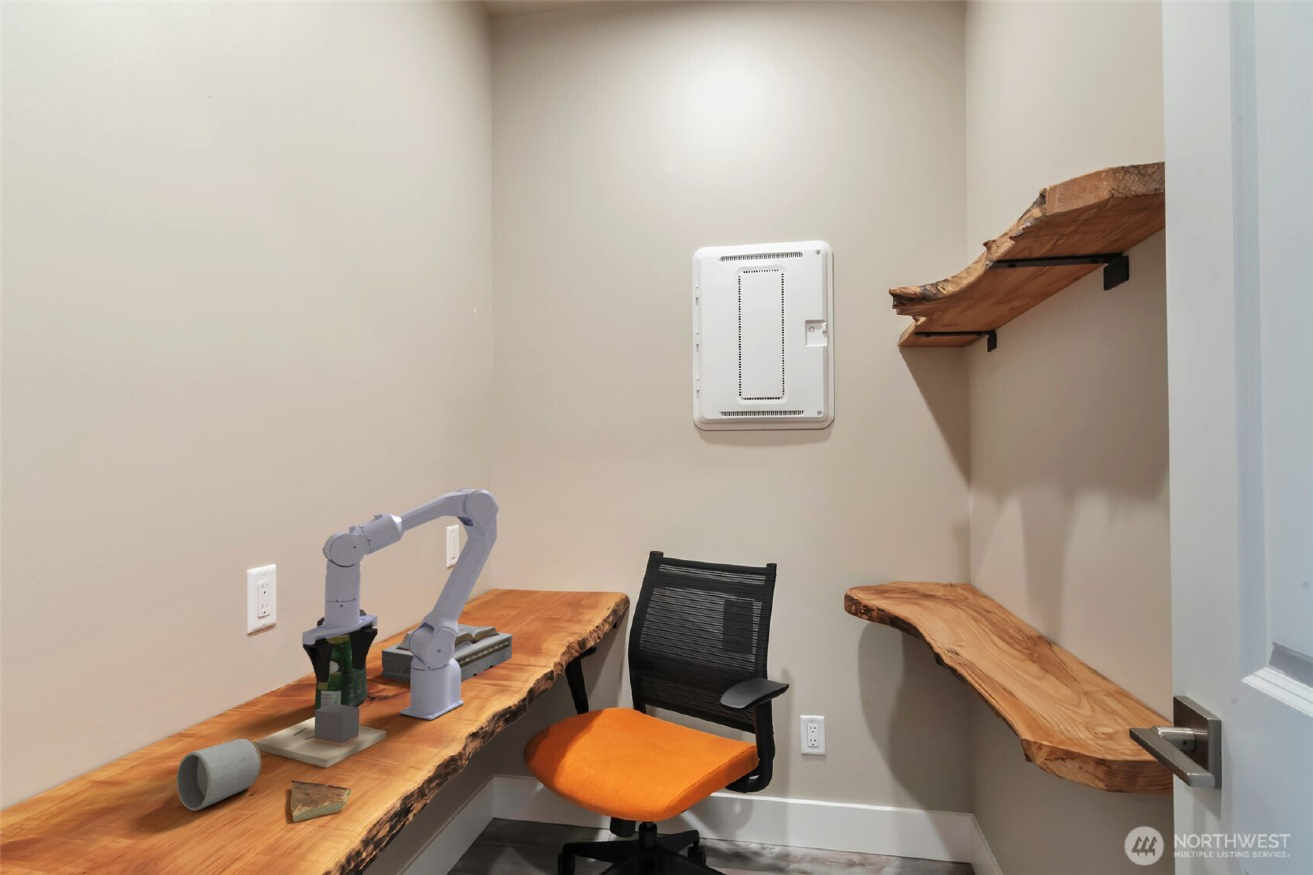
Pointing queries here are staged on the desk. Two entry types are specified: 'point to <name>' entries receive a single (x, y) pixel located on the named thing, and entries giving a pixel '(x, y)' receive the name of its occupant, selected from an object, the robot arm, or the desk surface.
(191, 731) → the desk surface
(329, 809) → the shard
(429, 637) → the robot arm
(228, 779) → the ceramic mug
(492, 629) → the bible
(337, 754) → the cream flat board
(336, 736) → the block
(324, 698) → the coffee jar
